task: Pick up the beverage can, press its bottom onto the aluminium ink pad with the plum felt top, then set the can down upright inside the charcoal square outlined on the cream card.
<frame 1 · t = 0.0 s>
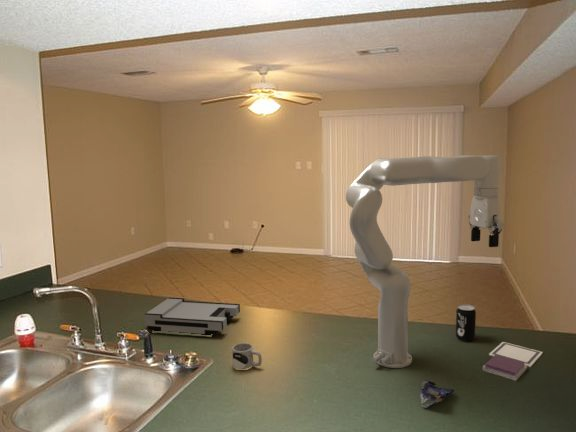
hand: (484, 243, 155), 37 cm above the worktop, tool pointing down, fingers open, 9 cm apart
game console: (194, 327, 188), on the worktop
snack package: (433, 399, 131), on the worktop
ink pad: (504, 369, 146), on the worktop
marked card: (515, 354, 156), on the worktop
beverage can: (465, 339, 169), on the worktop
mug: (247, 367, 152), on the worktop
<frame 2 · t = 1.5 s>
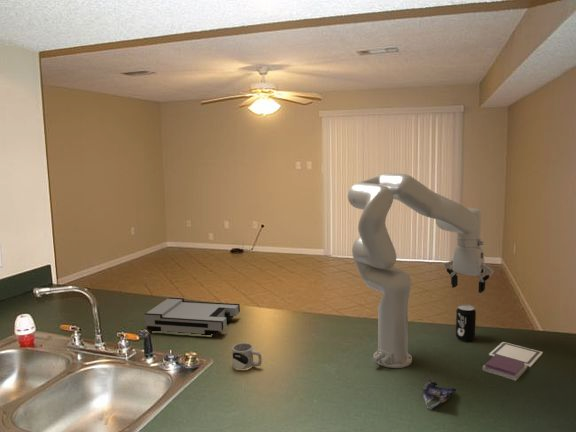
hand: (467, 289, 167), 19 cm above the worktop, tool pointing down, fingers open, 9 cm apart
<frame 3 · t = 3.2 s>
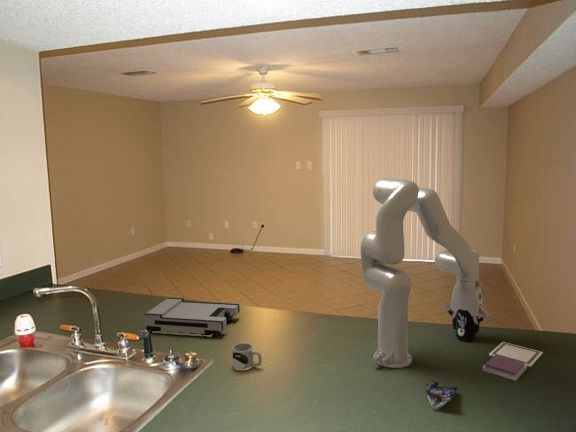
hand: (465, 330, 169), 3 cm above the worktop, tool pointing down, fingers closed on beverage can, 6 cm apart
beverage can: (465, 339, 169), on the worktop, touching gripper
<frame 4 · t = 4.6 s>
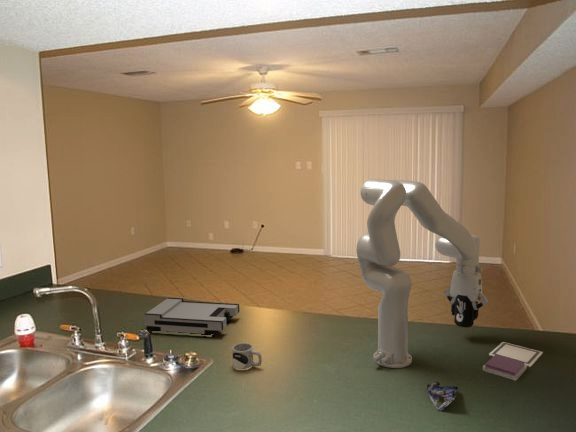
hand: (464, 316, 168), 9 cm above the worktop, tool pointing down, fingers closed on beverage can, 6 cm apart
beverage can: (463, 325, 168), point 5 cm above the worktop, touching gripper
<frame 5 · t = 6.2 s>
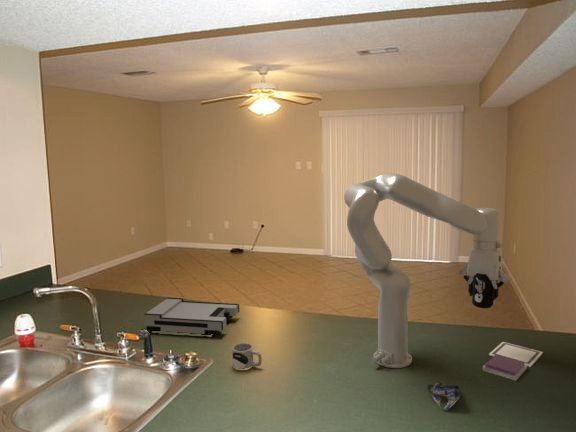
hand: (482, 296, 156), 19 cm above the worktop, tool pointing down, fingers closed on beverage can, 6 cm apart
beverage can: (482, 306, 157), point 16 cm above the worktop, touching gripper
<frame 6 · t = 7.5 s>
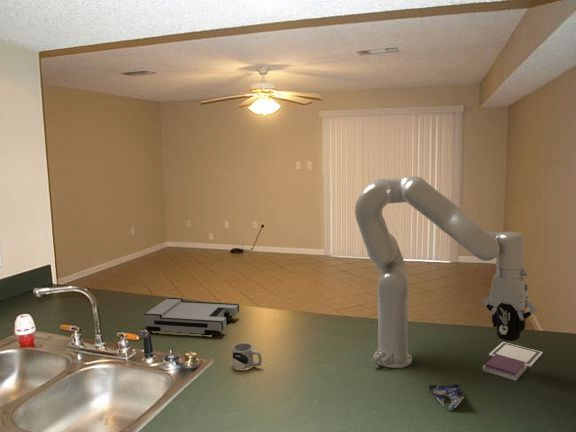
hand: (508, 328, 144), 14 cm above the worktop, tool pointing down, fingers closed on beverage can, 6 cm apart
beverage can: (508, 338, 144), point 10 cm above the worktop, touching gripper
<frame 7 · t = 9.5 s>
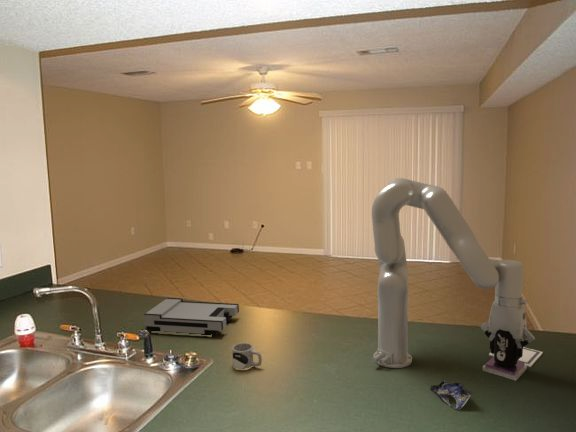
hand: (505, 354, 145), 5 cm above the worktop, tool pointing down, fingers closed on beverage can, 6 cm apart
snack package: (450, 399, 131), on the worktop
beverage can: (505, 363, 145), point 2 cm above the worktop, touching gripper, ink pad
everything else where it was.
when the fingers open (4 cm above the worktop, at t = 15.4 s): beverage can drops 1 cm, resting on marked card.
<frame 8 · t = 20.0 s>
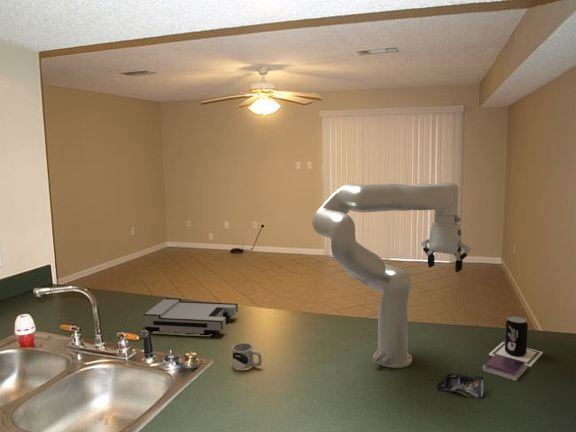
hand: (444, 268, 159), 28 cm above the worktop, tool pointing down, fingers open, 9 cm apart
snack package: (458, 391, 135), on the worktop
beverage can: (515, 353, 156), resting on marked card
everything else where it was.
at the end: beverage can 0.1 cm off-centre on the marked card, point 0.2 cm above the marked card's base; beverage can tilted 0°; the gripper is holding nothing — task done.
